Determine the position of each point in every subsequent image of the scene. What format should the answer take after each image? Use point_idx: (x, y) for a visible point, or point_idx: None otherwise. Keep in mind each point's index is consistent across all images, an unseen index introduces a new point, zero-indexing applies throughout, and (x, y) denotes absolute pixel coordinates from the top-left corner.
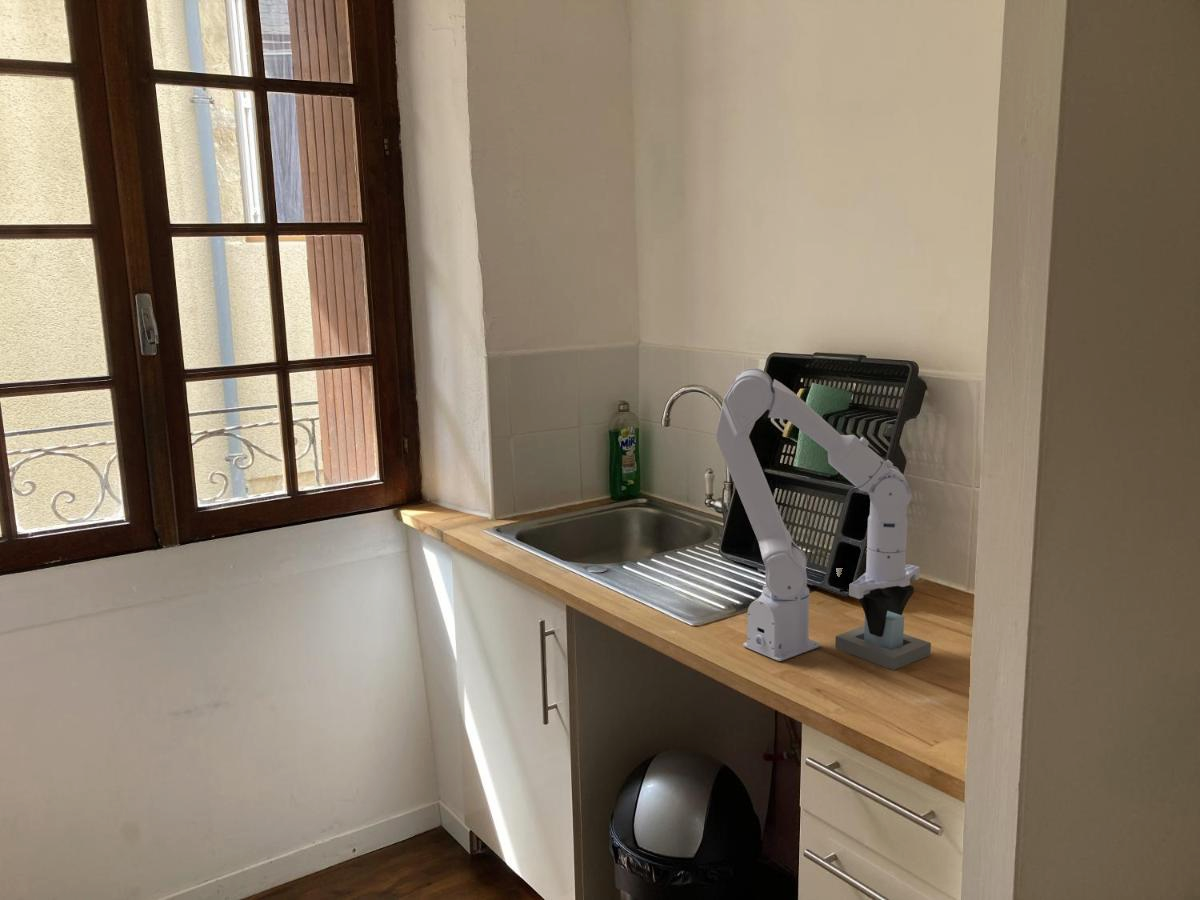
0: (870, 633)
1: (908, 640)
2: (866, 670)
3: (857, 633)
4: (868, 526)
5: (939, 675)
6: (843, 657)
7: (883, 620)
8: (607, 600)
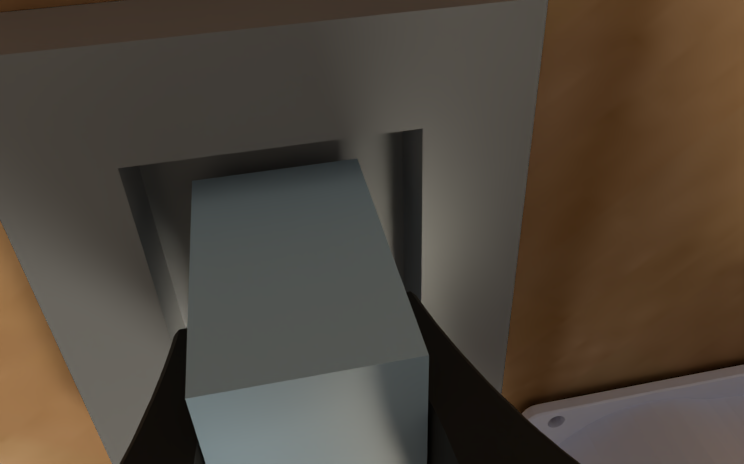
0: None
1: (117, 208)
2: (628, 77)
3: None
4: None
5: None
6: (546, 277)
7: (465, 394)
8: None
